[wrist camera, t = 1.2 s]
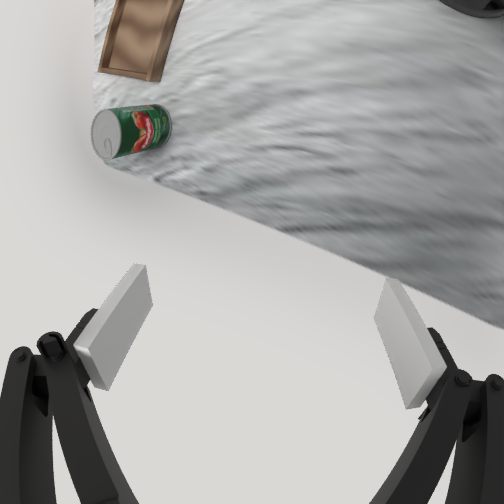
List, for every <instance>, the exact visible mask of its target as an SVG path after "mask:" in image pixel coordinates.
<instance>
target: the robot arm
mask: <svg viewBox="0 0 504 504" xmlns="http://www.w3.org/2000/svg"><path fill="white" fill-rule="evenodd" d="M440 1H442V2H443V3H445V4H447V5H448V6H450V7H452V8H454V9H456V10H458V11H461V12H463V13H466V14H469V15H472V16H476V17H482V18H494V17H498V16H501V15H503V14H504V0H440ZM152 306H153V303H152V298H151V293H150V288H149V282H148V276H147V270H146V265H140V264H133V265H132V267H131V268H130V269H129V270H128V271H127V273H126V274H125V275H124V276H123V278H122V279H121V280H120V282H119V283H118V284H117V285H116V287H115V288H114V290H113V291H112V292H111V293H110V295H109V296H108V297H107V299H106V300H105V301H104V303H103V304H102V305H101V307H100V308H99V309H94V308H93V309H91V310H90V311H89V312H87V313H86V314H85V315H84V316H83V317H82V319H81V320H80V322H79V323H78V324H77V325H76V328H74V330H73V331H72V332H71V334H70V335H69V336H68V338H67V339H66V341H64V339H63V337H62V335H61V334H60V333H58V332H48V333H46V334H44V335H42V336H41V337H40V338H39V340H38V341H37V348H38V349H39V351H40V353H41V355H33V353H32V352H31V350H30V349H29V348H28V347H24V346H22V347H19V348H17V349H15V350H14V351H13V352H12V353H11V355H10V358H9V362H8V365H7V369H6V374H5V378H4V382H3V387H2V392H1V397H0V504H57V503H56V495H55V485H54V472H53V451H52V419H53V416H54V420H55V425H56V429H57V433H58V436H59V440H60V444H61V447H62V451H63V454H64V457H65V460H66V464H67V467H68V470H69V473H70V475H71V478H72V481H73V484H74V487H75V489H76V492H77V494H78V497H79V499H80V502H81V504H139V503H138V501H137V499H136V498H135V496H134V494H133V492H132V490H131V488H130V487H129V485H128V483H127V481H126V479H125V477H124V475H123V473H122V471H121V469H120V467H119V464H118V463H117V460H116V458H115V456H114V454H113V451H112V449H111V447H110V444H109V442H108V440H107V437H106V435H105V432H104V430H103V427H102V425H101V422H100V419H99V417H98V414H97V411H96V408H95V405H94V403H93V399H92V397H91V393H90V390H89V388H88V386H87V384H88V382H89V381H90V380H91V382H92V383H93V385H94V387H96V388H99V389H102V390H106V391H109V389H110V387H111V385H112V383H113V381H114V378H115V377H116V374H117V372H118V370H119V368H120V366H121V364H122V362H123V360H124V359H125V357H126V354H127V353H128V350H129V349H130V347H131V345H132V343H133V341H134V339H135V337H136V335H137V333H138V332H139V330H140V328H141V326H142V324H143V322H144V320H145V319H146V317H147V315H148V313H149V311H150V309H151V307H152ZM374 319H375V322H376V325H377V327H378V330H379V332H380V335H381V338H382V340H383V343H384V346H385V349H386V351H387V354H388V357H389V360H390V362H391V365H392V368H393V371H394V374H395V377H396V380H397V382H398V386H399V389H400V392H401V395H402V398H403V401H404V404H405V408H406V409H411V408H417V407H420V406H421V405H422V404H423V402H424V401H425V399H426V401H427V404H428V406H427V408H426V409H425V410H424V412H423V413H422V414H421V416H420V417H419V418H418V419H419V420H420V421H419V423H418V425H417V427H416V429H415V431H414V433H413V435H412V437H411V439H410V440H409V442H408V444H407V446H406V448H405V449H404V451H403V453H402V455H401V456H400V458H399V460H398V461H397V463H396V465H395V466H394V468H393V470H392V471H391V473H390V474H389V476H388V478H387V479H386V481H385V482H384V483H383V485H382V486H381V488H380V489H379V491H378V492H377V494H376V495H375V496H374V498H373V499H372V501H371V502H370V503H369V504H427V503H428V501H429V499H430V498H431V496H432V494H433V492H434V490H435V488H436V486H437V484H438V482H439V480H440V478H441V476H442V473H443V471H444V469H445V466H446V464H447V462H448V460H449V457H450V455H451V452H452V450H453V447H454V445H455V442H456V439H457V442H456V450H455V456H454V463H453V469H452V474H451V479H450V484H449V489H448V493H447V497H446V502H445V504H504V380H503V378H501V377H500V376H499V375H496V374H491V375H489V376H488V377H487V378H486V380H485V381H477V380H473V379H472V377H471V376H470V375H469V373H467V372H466V371H464V370H461V369H458V368H457V366H456V364H455V362H454V360H453V358H452V356H451V354H450V352H449V350H448V349H447V347H446V345H445V343H443V340H442V338H441V336H440V334H439V333H438V332H437V331H436V330H435V329H433V328H426V326H425V324H424V322H423V320H422V319H421V317H420V315H419V313H418V312H417V310H416V308H415V307H414V305H413V303H412V301H411V300H410V298H409V296H408V295H407V293H406V291H405V290H404V288H403V286H402V285H401V283H400V282H399V280H398V279H386V280H385V284H384V287H383V291H382V294H381V297H380V301H379V304H378V307H377V310H376V313H375V316H374Z"/></svg>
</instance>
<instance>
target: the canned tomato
mask: <svg viewBox="0 0 504 504" xmlns="http://www.w3.org/2000/svg"><path fill="white" fill-rule="evenodd" d="M170 133H171V119H170V116H169V113H168V112H167V110H166V109H165V108H164V107H163V106H161V105H158V104H153V105H142V106H141V105H140V106H131V107H130V106H129V107H121V108H112V109H103V110H101V111H99V112H98V113H97V114H96V116H95V117H94V119H93V122H92V126H91V142H92V146H93V148H94V151H95V153H96V154H97V155H98V157H99V158H101V159H102V160H111V159H113V158H118V157H122V156H125V155H129V154H133V153H137V152H141V151H145V150H150V149H153V148H159V147H161V146H163V145H164V144H165V143H166V142H167V140H168V138H169V136H170Z"/></svg>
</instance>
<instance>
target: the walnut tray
mask: <svg viewBox="0 0 504 504" xmlns="http://www.w3.org/2000/svg"><path fill="white" fill-rule="evenodd" d="M183 2H184V0H116V3H115V6H114V9H113V12H112V15H111V19H110V22H109V26H108V30H107V33H106V37H105V41H104V45H103V50H102V54H101V59H100V63H99V68H98V72H101V73H108V74H114V75H120V76H125V77H131V78H136V79H141V80H146V81H160V80H161V76H162V72H163V68H164V64H165V61H166V57H167V53H168V50H169V46H170V43H171V39H172V36H173V32H174V29H175V26H176V23H177V20H178V17H179V14H180V11H181V8H182V5H183Z"/></svg>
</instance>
